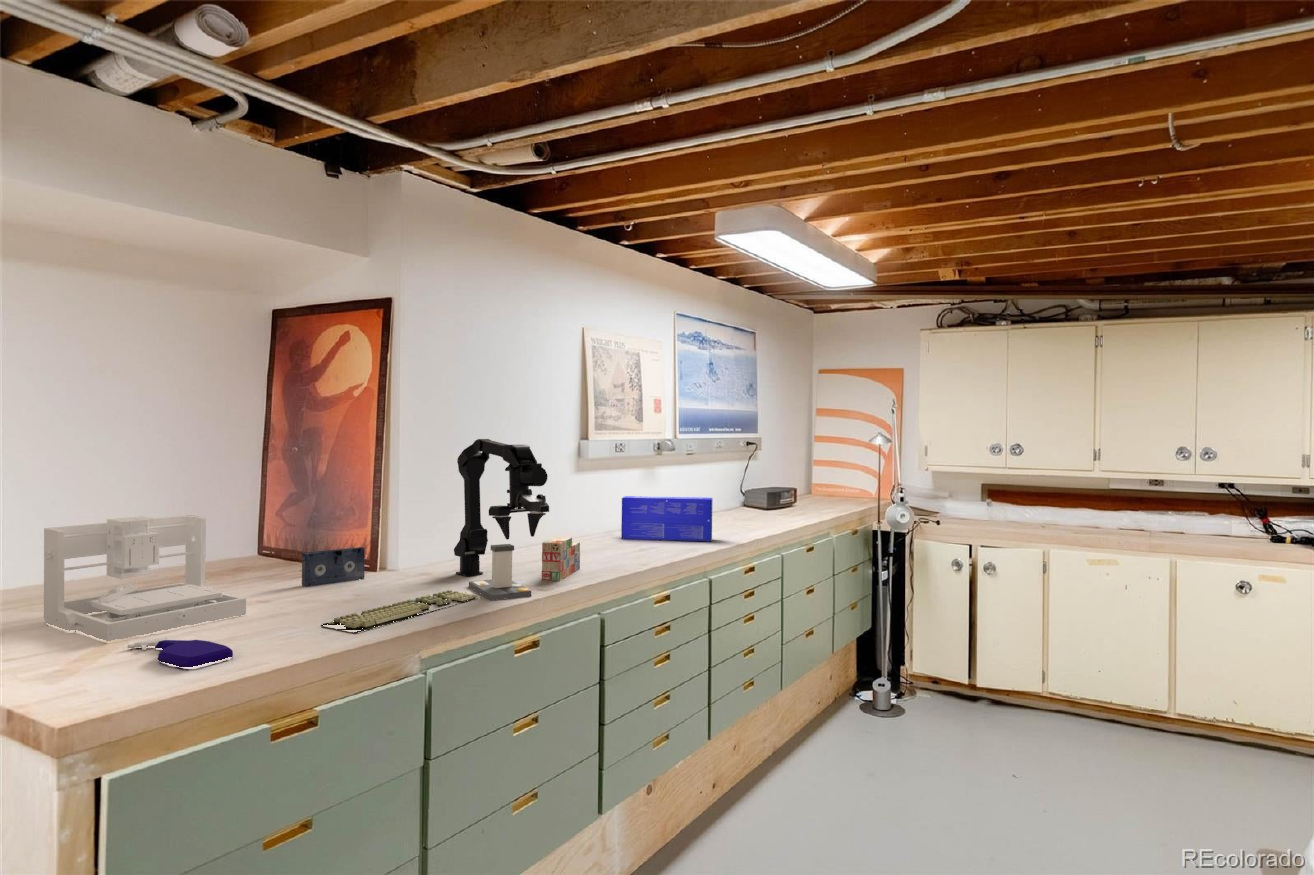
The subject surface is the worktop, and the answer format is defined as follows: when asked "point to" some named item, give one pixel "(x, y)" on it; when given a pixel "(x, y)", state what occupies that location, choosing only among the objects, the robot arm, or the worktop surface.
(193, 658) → the dark purple flat pad
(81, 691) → the worktop surface
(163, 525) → the 3d printer
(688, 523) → the toner cartridge box
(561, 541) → the stack of blocks
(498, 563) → the lever
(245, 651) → the worktop surface
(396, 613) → the keyboard
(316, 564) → the vhs cassette tape
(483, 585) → the switch panel
